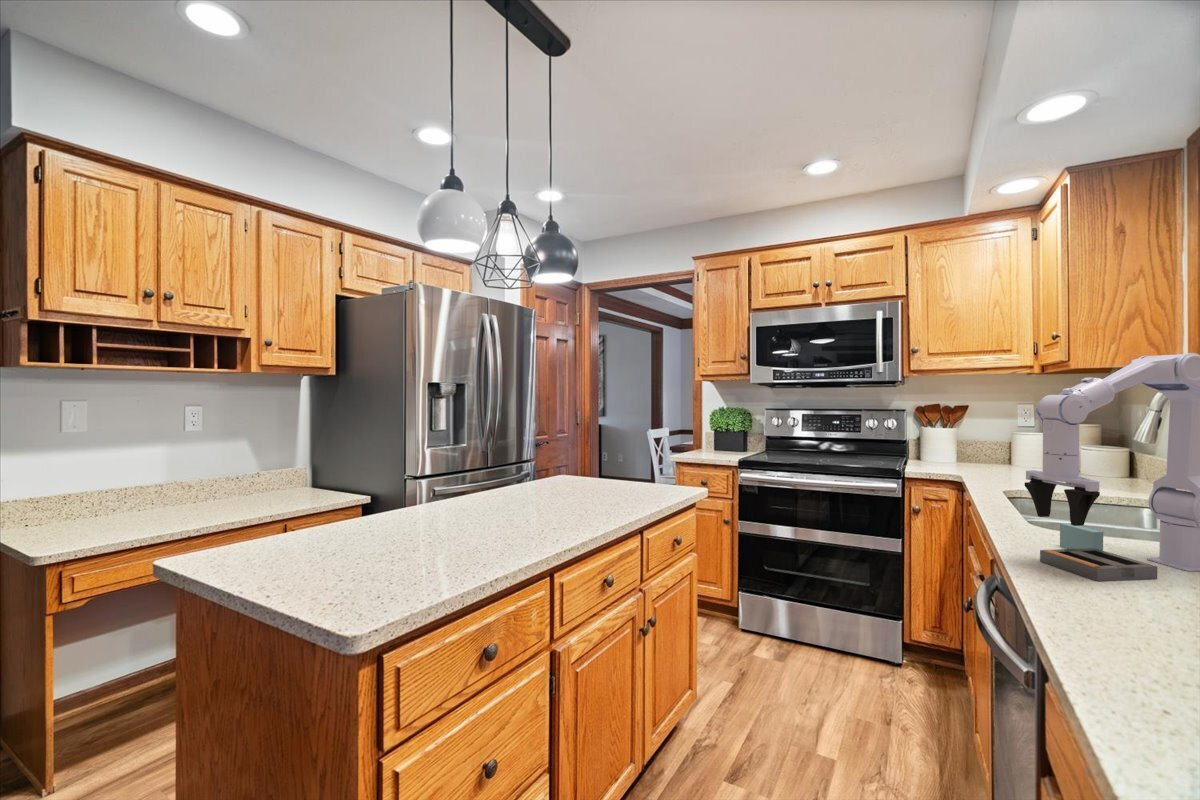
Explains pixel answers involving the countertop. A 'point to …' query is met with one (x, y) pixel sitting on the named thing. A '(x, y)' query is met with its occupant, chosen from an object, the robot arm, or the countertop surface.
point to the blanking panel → (1080, 537)
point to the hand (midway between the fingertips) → (1059, 520)
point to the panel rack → (1098, 564)
